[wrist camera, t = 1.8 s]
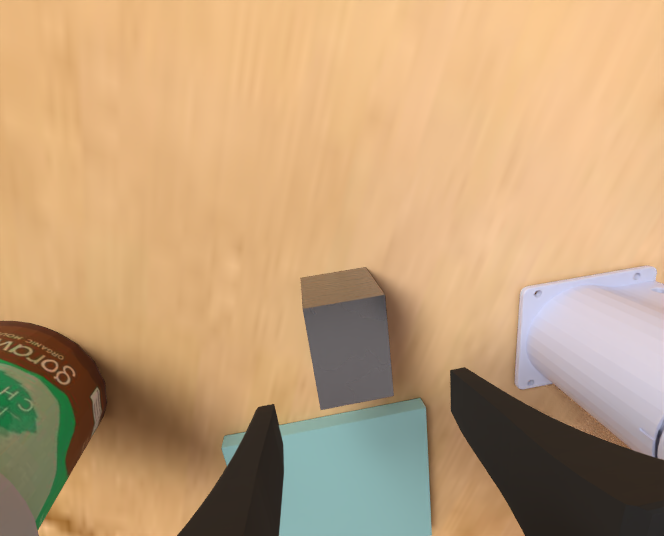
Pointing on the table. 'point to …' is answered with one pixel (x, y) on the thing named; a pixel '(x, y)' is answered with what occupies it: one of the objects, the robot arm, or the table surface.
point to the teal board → (355, 473)
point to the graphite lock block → (347, 337)
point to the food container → (42, 420)
